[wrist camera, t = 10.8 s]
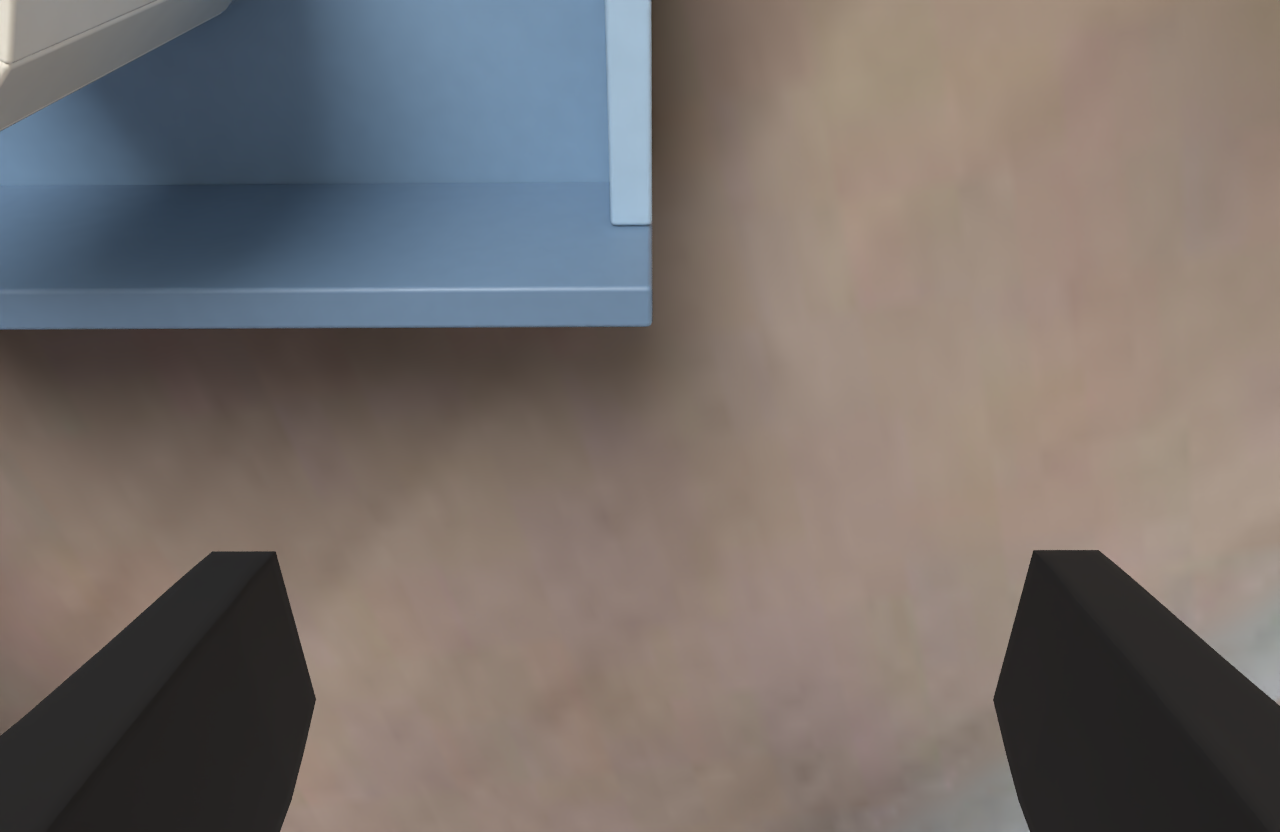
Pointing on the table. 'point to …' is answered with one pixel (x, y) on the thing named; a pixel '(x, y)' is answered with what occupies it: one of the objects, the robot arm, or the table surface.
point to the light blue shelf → (345, 173)
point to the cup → (81, 44)
